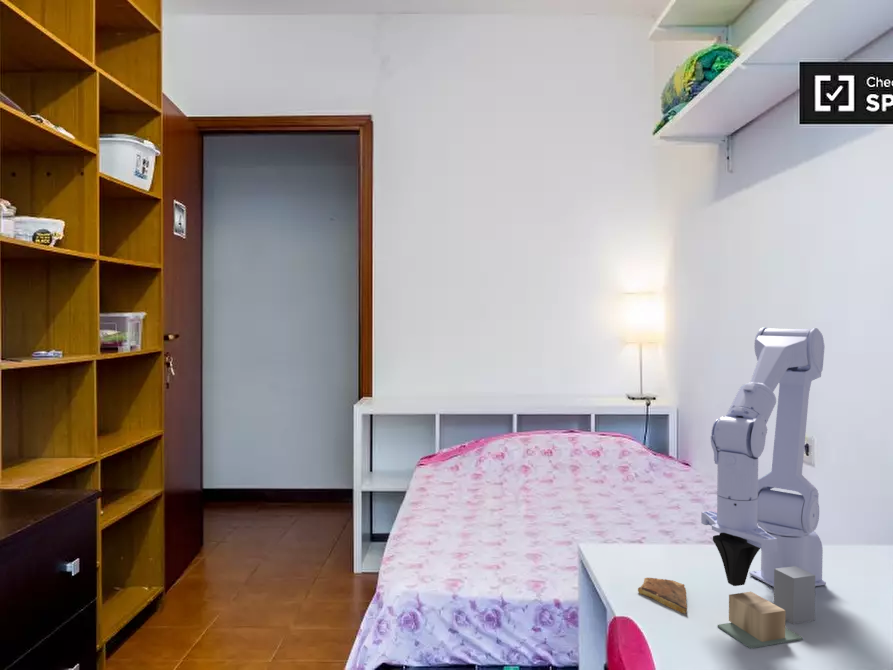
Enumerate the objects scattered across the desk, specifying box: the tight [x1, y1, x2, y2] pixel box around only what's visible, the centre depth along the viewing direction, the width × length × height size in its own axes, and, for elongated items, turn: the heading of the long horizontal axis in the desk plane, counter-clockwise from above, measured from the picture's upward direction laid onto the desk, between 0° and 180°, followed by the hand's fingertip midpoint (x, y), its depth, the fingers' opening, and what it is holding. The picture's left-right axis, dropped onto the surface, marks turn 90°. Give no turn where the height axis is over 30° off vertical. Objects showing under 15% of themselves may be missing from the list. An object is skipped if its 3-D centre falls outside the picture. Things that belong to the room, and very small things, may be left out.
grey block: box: [773, 566, 816, 625], centre depth 107 cm, size 4×4×7 cm
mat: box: [717, 622, 804, 649], centre depth 102 cm, size 9×7×1 cm
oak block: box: [728, 591, 786, 642], centre depth 103 cm, size 4×4×7 cm
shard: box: [637, 577, 688, 615], centre depth 114 cm, size 11×8×2 cm
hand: (736, 583), depth 107 cm, fingers closed
